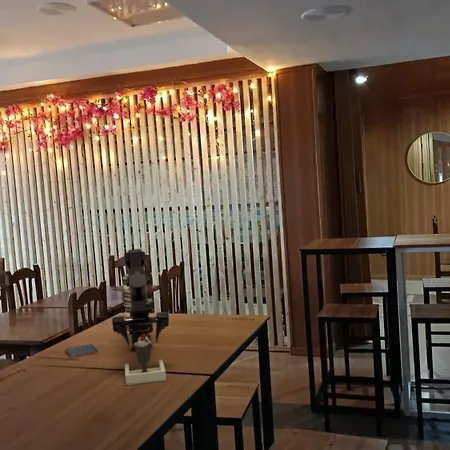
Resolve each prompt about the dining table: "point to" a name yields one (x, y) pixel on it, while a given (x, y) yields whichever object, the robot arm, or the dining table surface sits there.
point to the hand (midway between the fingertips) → (142, 343)
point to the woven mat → (81, 351)
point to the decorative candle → (126, 300)
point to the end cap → (145, 375)
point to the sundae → (143, 350)
